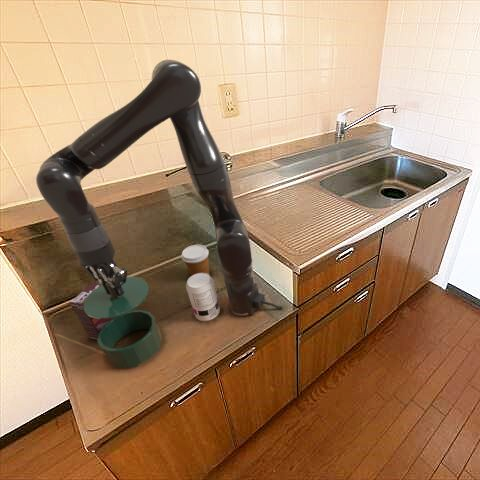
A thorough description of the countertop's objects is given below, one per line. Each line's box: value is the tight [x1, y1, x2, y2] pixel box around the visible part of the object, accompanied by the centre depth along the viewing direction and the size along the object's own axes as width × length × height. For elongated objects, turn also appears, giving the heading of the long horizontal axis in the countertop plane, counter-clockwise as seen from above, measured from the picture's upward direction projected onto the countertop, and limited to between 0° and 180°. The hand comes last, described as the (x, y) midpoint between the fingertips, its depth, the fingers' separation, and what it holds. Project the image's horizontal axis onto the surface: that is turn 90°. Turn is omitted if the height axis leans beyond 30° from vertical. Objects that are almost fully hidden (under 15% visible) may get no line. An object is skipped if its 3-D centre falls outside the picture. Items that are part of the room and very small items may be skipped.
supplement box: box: [69, 282, 113, 340], centre depth 97 cm, size 9×5×16 cm, turn 168°
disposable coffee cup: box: [181, 244, 210, 277], centre depth 119 cm, size 10×10×12 cm
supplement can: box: [185, 273, 221, 322], centre depth 103 cm, size 8×8×15 cm
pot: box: [97, 309, 163, 370], centre depth 94 cm, size 15×15×8 cm
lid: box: [84, 276, 150, 319], centre depth 85 cm, size 16×16×6 cm
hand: (116, 293), depth 86 cm, fingers closed on lid, 2 cm apart
